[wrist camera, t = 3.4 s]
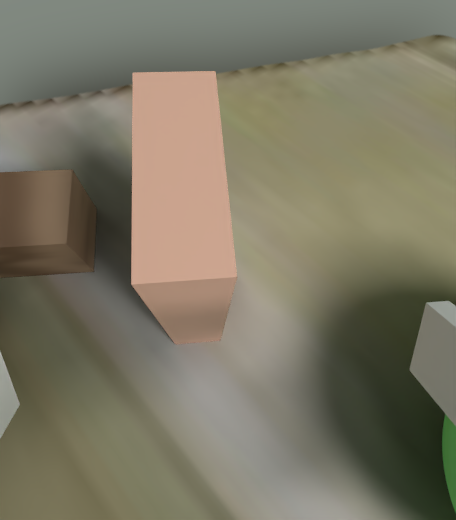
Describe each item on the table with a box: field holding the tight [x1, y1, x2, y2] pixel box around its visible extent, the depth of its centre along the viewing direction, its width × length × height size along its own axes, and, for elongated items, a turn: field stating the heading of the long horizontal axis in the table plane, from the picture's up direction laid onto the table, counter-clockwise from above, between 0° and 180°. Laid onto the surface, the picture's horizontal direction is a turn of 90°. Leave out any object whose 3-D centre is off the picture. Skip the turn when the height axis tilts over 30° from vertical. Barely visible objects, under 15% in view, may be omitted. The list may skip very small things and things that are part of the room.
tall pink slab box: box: [131, 71, 237, 344], centre depth 18 cm, size 3×8×14 cm, turn 5°
